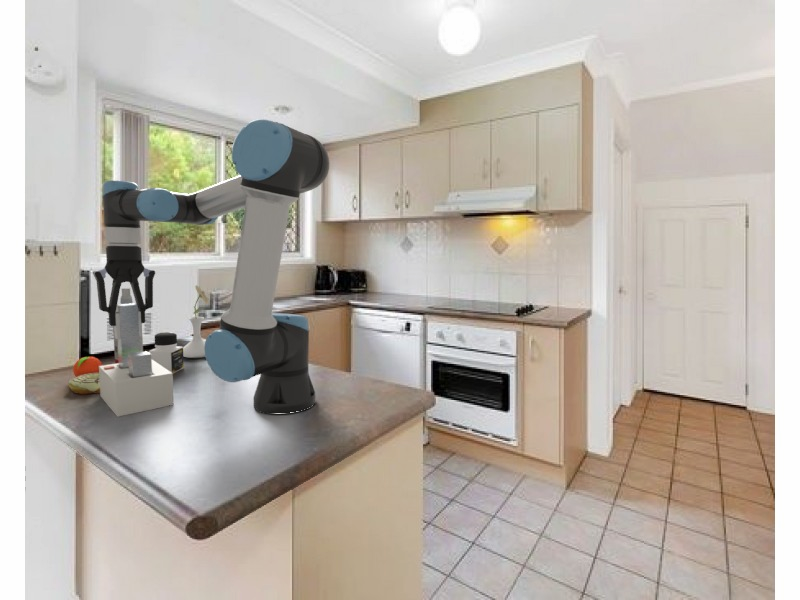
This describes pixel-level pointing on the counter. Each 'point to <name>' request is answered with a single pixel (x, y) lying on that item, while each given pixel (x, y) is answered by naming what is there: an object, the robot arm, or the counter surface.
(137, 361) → the grey square peg
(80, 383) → the decorated donut
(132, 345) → the upper square grey bar
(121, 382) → the housing
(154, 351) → the medicine bottle
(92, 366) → the clementine
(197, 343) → the flower in vase
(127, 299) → the spray bottle
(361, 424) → the counter surface
